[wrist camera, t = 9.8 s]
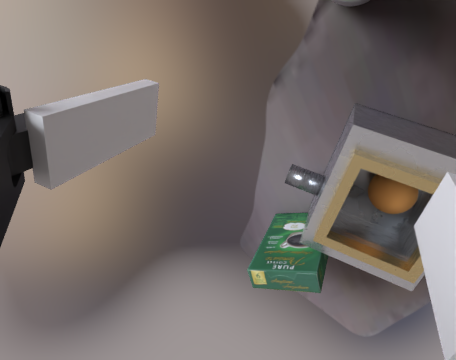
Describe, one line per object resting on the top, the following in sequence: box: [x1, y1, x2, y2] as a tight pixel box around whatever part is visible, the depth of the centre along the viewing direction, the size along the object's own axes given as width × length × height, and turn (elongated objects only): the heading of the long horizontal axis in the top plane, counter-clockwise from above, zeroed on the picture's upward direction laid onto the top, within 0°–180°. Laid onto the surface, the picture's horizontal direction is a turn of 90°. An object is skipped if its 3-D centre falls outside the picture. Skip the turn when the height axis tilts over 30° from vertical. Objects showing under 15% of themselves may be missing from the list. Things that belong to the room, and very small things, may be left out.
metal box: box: [285, 103, 456, 291], centre depth 34 cm, size 14×16×12 cm
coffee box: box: [247, 213, 328, 293], centre depth 39 cm, size 8×3×13 cm, turn 105°
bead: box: [368, 174, 418, 214], centre depth 35 cm, size 5×5×5 cm
